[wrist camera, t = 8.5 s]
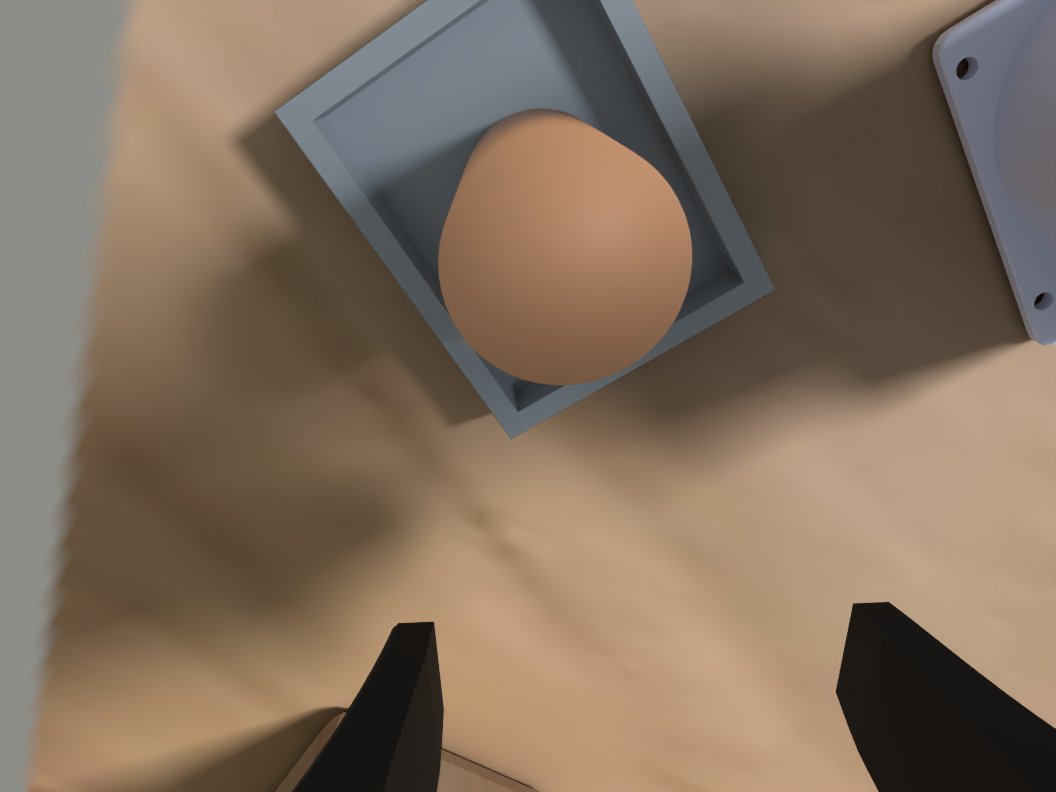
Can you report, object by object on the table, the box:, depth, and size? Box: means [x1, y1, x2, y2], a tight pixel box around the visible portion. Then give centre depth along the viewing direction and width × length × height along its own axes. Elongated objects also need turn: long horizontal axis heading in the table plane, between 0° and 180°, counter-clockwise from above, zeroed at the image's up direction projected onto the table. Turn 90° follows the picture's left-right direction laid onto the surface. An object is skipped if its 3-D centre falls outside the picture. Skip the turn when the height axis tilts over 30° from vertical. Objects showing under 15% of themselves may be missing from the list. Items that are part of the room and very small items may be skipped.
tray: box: [275, 0, 775, 439], centre depth 19 cm, size 10×8×2 cm
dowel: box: [438, 108, 692, 385], centre depth 15 cm, size 4×4×8 cm
